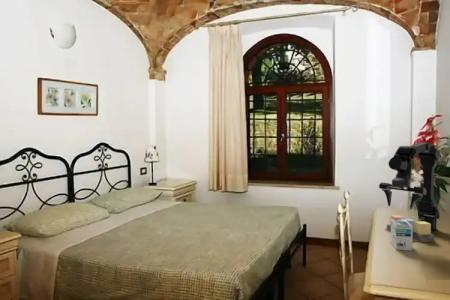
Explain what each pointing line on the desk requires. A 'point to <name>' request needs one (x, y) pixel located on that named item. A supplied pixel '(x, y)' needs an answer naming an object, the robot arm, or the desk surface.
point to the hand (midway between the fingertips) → (399, 207)
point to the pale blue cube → (410, 222)
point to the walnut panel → (417, 236)
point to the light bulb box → (401, 234)
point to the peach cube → (396, 217)
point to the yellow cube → (422, 228)
